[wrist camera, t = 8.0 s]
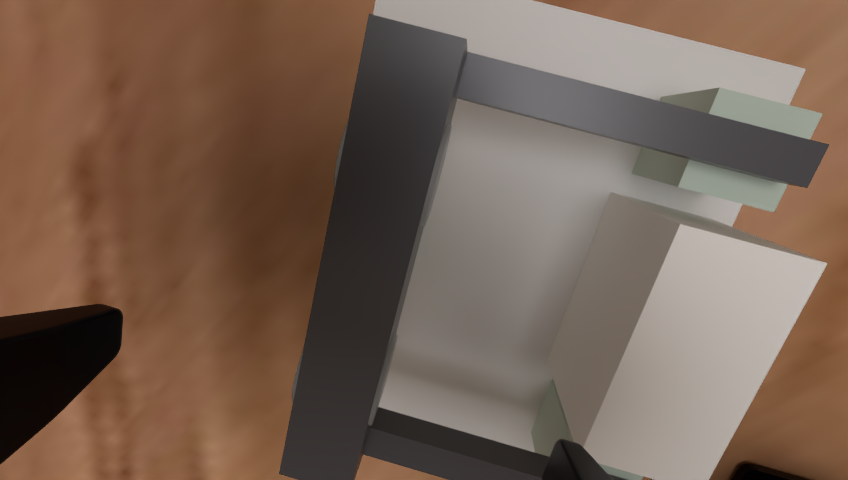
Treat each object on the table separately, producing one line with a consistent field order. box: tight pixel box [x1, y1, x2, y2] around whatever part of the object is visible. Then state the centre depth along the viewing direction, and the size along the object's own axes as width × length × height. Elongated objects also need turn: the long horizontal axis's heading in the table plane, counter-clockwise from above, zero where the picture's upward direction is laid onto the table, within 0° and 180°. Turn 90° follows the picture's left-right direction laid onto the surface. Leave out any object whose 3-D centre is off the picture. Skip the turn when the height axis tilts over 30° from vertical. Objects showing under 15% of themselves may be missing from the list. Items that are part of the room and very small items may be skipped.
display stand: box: [373, 0, 828, 480], centre depth 16 cm, size 16×20×7 cm
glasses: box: [279, 14, 829, 480], centre depth 13 cm, size 12×14×3 cm
